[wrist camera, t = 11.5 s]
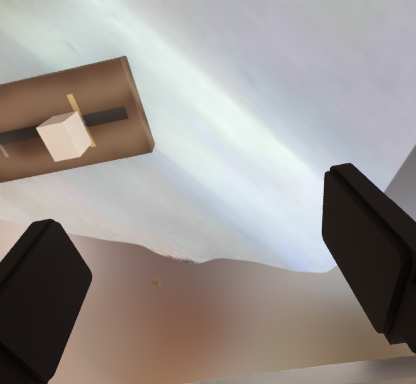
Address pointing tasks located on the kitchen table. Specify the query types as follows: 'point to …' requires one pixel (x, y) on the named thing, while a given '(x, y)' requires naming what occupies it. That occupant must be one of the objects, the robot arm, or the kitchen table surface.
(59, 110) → the control board
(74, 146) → the block
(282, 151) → the kitchen table surface
